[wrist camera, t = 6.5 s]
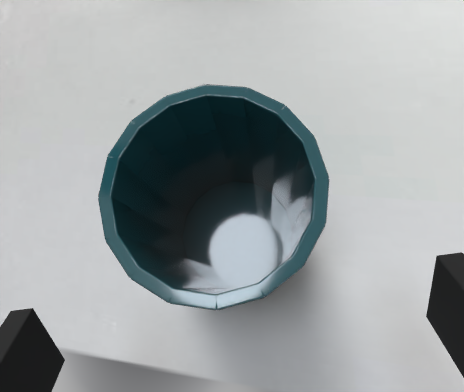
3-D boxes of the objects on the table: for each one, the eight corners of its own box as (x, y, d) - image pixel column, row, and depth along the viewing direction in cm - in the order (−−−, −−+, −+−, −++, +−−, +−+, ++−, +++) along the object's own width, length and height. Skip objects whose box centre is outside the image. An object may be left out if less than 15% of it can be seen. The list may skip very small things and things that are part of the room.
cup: (169, 288, 22) (76, 289, 11) (189, 172, 23) (124, 78, 13) (291, 305, 21) (318, 325, 10) (303, 184, 22) (336, 92, 12)
